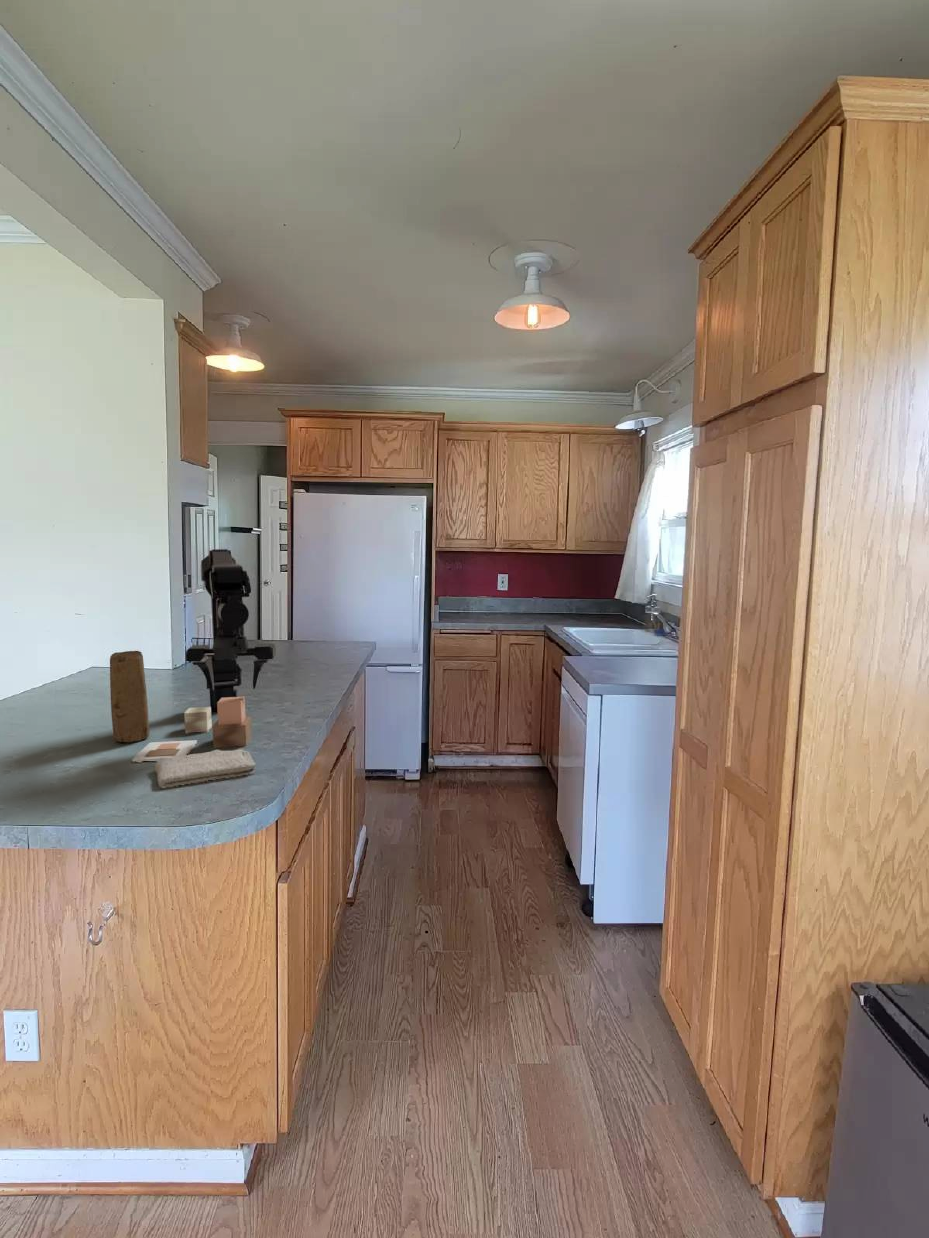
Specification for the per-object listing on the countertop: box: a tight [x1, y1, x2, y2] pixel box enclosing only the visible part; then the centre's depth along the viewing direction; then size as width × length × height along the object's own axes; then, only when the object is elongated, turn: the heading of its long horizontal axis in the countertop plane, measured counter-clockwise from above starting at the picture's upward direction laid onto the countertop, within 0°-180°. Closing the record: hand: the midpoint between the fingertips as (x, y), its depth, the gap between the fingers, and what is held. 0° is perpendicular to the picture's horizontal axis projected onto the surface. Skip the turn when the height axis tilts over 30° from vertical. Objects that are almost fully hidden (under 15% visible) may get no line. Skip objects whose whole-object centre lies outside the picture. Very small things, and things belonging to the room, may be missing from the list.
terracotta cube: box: [217, 696, 247, 725], centre depth 150 cm, size 5×5×5 cm
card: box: [131, 739, 198, 762], centre depth 144 cm, size 10×12×1 cm
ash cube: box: [183, 706, 213, 734], centre depth 161 cm, size 5×5×5 cm
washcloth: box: [154, 748, 258, 789], centre depth 131 cm, size 12×18×3 cm, turn 118°
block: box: [109, 650, 150, 743], centre depth 154 cm, size 11×8×20 cm
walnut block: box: [211, 716, 253, 748], centre depth 151 cm, size 7×7×5 cm
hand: (233, 689), depth 152 cm, fingers open, 9 cm apart
